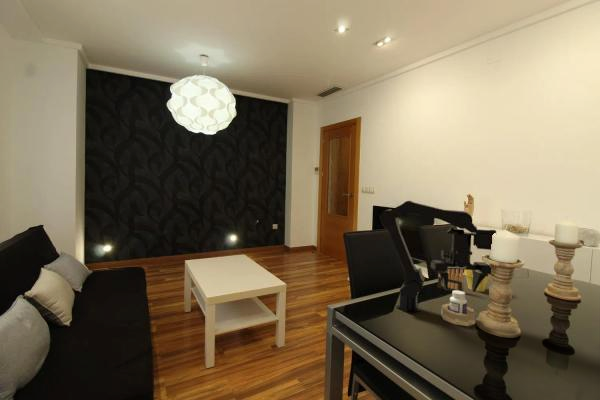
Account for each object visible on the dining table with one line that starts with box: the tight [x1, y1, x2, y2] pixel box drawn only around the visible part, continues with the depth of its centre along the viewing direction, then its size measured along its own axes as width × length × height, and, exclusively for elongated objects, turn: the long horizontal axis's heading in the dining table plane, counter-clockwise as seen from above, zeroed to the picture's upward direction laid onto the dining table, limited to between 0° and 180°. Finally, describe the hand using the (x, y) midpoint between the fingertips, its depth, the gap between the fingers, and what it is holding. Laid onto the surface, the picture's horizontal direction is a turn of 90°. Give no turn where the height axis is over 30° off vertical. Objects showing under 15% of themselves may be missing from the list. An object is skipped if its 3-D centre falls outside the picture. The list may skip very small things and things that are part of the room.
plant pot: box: [463, 270, 491, 293], centre depth 138 cm, size 10×10×10 cm
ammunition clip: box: [437, 266, 464, 292], centre depth 137 cm, size 11×2×12 cm, turn 45°
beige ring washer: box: [440, 302, 477, 327], centre depth 106 cm, size 10×10×4 cm
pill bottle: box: [449, 290, 468, 314], centre depth 106 cm, size 5×5×10 cm
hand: (459, 290), depth 106 cm, fingers open, 9 cm apart
